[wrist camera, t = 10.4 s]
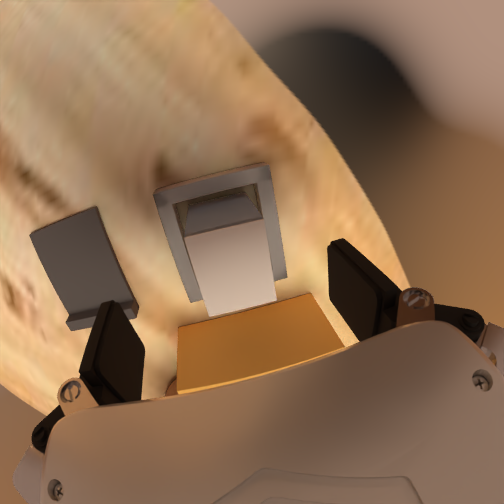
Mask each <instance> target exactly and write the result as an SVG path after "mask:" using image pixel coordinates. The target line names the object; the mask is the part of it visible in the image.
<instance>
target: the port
mask: <svg viewBox="0 0 504 504" xmlns="http://www.w3.org/2000/svg"><path fill="white" fill-rule="evenodd" d="M250 184H254V188H255V193H256V198H257V203H258V208H259V213H260V214H261V216H262V217H263V219H264V222H265V228H266V235H267V241H268V247H269V253H270V259H271V266H272V272H273V279H274V281H277V280H281V279H284V278H287V271H286V264H285V257H284V251H283V244H282V238H281V232H280V225H279V219H278V213H277V207H276V201H275V195H274V189H273V184H272V178H271V172H270V167H269V165H268V164H267V163H265V162H263V163H258V164H254V165H249V166H244V167H240V168H235V169H231V170H227V171H223V172H218V173H214V174H210V175H206V176H202V177H199V178H195V179H191V180H187V181H184V182H180V183H176V184H173V185H169V186H166V187H163V188H159V189H156V190H155V192H154V193H153V196H154V200H155V203H156V206H157V209H158V212H159V216H160V219H161V222H162V225H163V228H164V231H165V234H166V237H167V240H168V243H169V246H170V249H171V252H172V255H173V257H174V260H175V263H176V266H177V268H178V271H179V274H180V277H181V279H182V282H183V285H184V287H185V290H186V293H187V295H188V298H189V300H190V303H192V302H196V301H200V300H203V297H202V294H201V291H200V288H199V285H198V282H197V279H196V276H195V272H194V269H193V266H192V263H191V260H190V256H189V253H188V250H187V247H186V243H185V240H184V232H183V228H182V225H181V222H180V219H179V215H178V212H177V208H176V205H175V203H178V202H182V201H186V200H189V199H193V198H197V197H201V196H204V195H208V194H212V193H216V192H220V191H224V190H228V189H233V188H237V187H241V186H245V185H250ZM343 348H345V346H344V345H343V343H342V342H341V340H340V338H339V337H338V335H337V334H336V332H335V330H334V329H333V327H332V326H331V324H330V322H329V321H328V319H327V318H326V316H325V314H324V313H323V311H322V310H321V308H320V307H319V305H318V303H317V302H316V300H315V299H314V297H313V296H312V294H311V293H309V294H305V295H302V296H298V297H295V298H292V299H288V300H285V301H281V302H278V303H274V304H270V305H267V306H263V307H259V308H256V309H252V310H248V311H244V312H240V313H237V314H233V315H229V316H225V317H221V318H216V319H212V320H208V321H204V322H200V323H195V324H191V325H187V326H182V327H178V348H177V392H178V394H184V393H189V392H195V391H199V390H204V389H209V388H214V387H218V386H222V385H227V384H231V383H235V382H239V381H243V380H247V379H250V378H254V377H258V376H261V375H265V374H268V373H272V372H275V371H279V370H282V369H285V368H288V367H292V366H295V365H298V364H301V363H304V362H307V361H310V360H313V359H316V358H318V357H321V356H324V355H327V354H330V353H332V352H335V351H338V350H340V349H343Z"/></svg>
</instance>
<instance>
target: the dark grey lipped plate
mask: <svg viewBox="0 0 504 504" xmlns="http://www.w3.org/2000/svg"><path fill="white" fill-rule="evenodd" d="M29 236H30V238H31V240H32V243H33V245H34V247H35V250H36V252H37V254H38V256H39V259H40V261H41V263H42V265H43V267H44V269H45V271H46V273H47V275H48V277H49V279H50V281H51V283H52V285H53V287H54V289H55V291H56V292H57V294H58V296H59V298H60V300H61V301H62V303H63V305H64V307H65V308H66V310H67V312H68V313H69V317H68V319H67V321H66V324H67V326H68V327H69V329H70V330H71V331H75V330H80V329H85V328H90V327H93V324H94V321H95V319H96V316H97V313H98V310H99V308H100V305H101V303H103V302H107V301H111V300H114V301H115V302H118V303H119V304H120V305H121V307H122V309H123V311H124V313H125V314H126V316H127V318H128V320H130V319H134V318H137V314H138V310H139V306H138V304H137V302H136V300H135V297H134V295H133V293H132V291H131V289H130V287H129V285H128V283H127V281H126V278H125V276H124V274H123V272H122V269H121V267H120V265H119V263H118V260H117V258H116V256H115V253H114V251H113V248H112V246H111V243H110V241H109V238H108V236H107V233H106V231H105V228H104V225H103V223H102V220H101V217H100V214H99V211H98V209H97V206H96V207H94V208H91V209H88V210H86V211H83V212H81V213H78V214H76V215H73V216H70V217H68V218H66V219H63V220H61V221H58V222H56V223H54V224H51V225H49V226H47V227H44V228H42V229H40V230H38V231H35V232H33V233H31V234H30V235H29Z"/></svg>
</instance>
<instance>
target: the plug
mask: <svg viewBox="0 0 504 504" xmlns="http://www.w3.org/2000/svg"><path fill="white" fill-rule="evenodd" d="M184 240H185V243H186V247H187V250H188V253H189V256H190V260H191V263H192V266H193V269H194V272H195V276H196V279H197V282H198V285H199V288H200V291H201V294H202V297H203V300H204V303H205V306H206V309H207V312H208V315H209V317H211V316H215V315H220V314H224V313H228V312H233V311H237V310H241V309H245V308H249V307H253V306H257V305H261V304H265V303H269V302H273V301H277V298H276V292H275V285H274V279H273V272H272V266H271V259H270V253H269V247H268V241H267V235H266V228H265V222H264V219H263V217H262V216H261V214H260V213H259V212H258V210H257V209H256V207H255V206H254V204H253V203H252V202H251V200H250V199H249V197H248V196H247V194H246V193H245V192H242V193H238V194H233V195H229V196H224V197H220V198H216V199H211V200H207V201H203V202H199V203H195V204H191V205H189V206H188V213H187V220H186V227H185V235H184Z"/></svg>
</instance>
